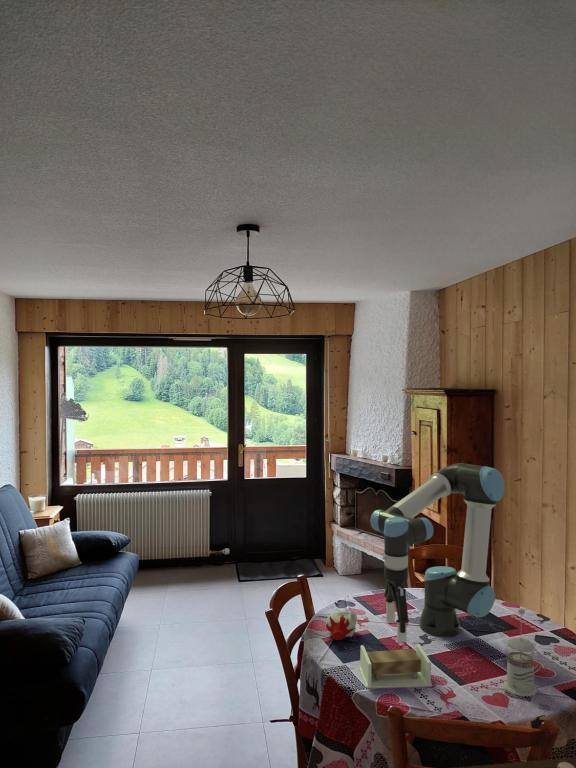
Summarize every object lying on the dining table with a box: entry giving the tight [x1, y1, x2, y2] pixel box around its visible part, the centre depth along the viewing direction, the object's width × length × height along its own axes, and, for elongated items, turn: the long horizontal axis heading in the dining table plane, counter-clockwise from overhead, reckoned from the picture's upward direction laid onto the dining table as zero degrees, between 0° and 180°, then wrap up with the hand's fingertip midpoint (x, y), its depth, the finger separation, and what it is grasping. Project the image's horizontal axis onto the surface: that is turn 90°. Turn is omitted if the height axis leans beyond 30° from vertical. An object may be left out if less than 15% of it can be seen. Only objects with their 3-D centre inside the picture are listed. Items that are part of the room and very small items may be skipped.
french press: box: [503, 608, 543, 697], centre depth 174 cm, size 10×12×25 cm
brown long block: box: [366, 648, 421, 676], centre depth 179 cm, size 16×7×4 cm, turn 99°
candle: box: [325, 610, 358, 641], centre depth 206 cm, size 9×11×15 cm
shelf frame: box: [358, 643, 433, 689], centre depth 179 cm, size 21×12×8 cm, turn 94°
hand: (395, 631), depth 179 cm, fingers open, 13 cm apart
